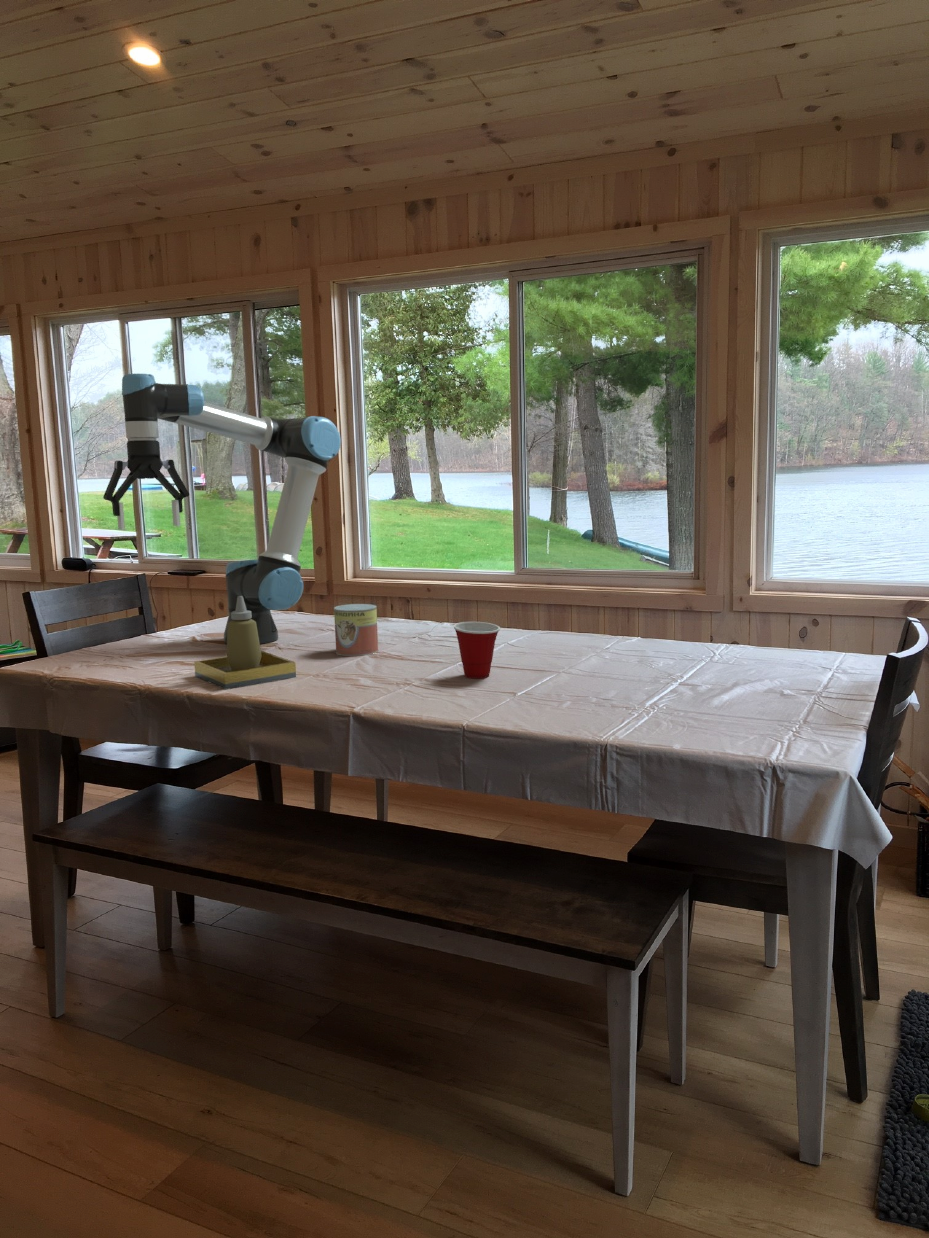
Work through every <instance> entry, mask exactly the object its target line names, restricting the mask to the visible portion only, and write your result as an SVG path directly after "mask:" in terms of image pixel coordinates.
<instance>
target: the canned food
mask: <svg viewBox="0 0 929 1238" xmlns="http://www.w3.org/2000/svg"><path fill="white" fill-rule="evenodd" d="M377 607H378V606H377V605H375V604H371V603H350V604H349V603H348V604H341V605H337V606H333V612H334V614H333V615H334V631H335V632H334V633H335V634H334V635H335V636H334V637H335V654H336V655H339V656H342V657H343V656H344V657H346V656H347V657H360V656H362V657H363V656H369V655H373V653H374V654H376V652H377V653H378V652H379V639H378V637H379V636H378V634H379V633H378V616H377V615H378V613H377V612H378V611H377V610H378V609H377Z"/></svg>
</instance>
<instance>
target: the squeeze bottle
mask: <svg viewBox="0 0 929 1238" xmlns="http://www.w3.org/2000/svg"><path fill="white" fill-rule="evenodd" d="M251 618H252V614H251V611H248V610H247V609H246V606H245V602H244V599H243V596H238V597H237V604H236V610H235V611H233V612H231V619H232V621H230V622H229V623H228V629H227V643H226V657H227V660H228V662H229V665H230V667H231V670H232V672H233V671H239V670H245V669H251V668H258V667H259V663H260V660H261V656H262V655H261V651H262V649H261V644H260V643H259V637H258V631H257V625H256V622H255V621H254V620H252V619H251Z"/></svg>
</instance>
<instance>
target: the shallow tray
mask: <svg viewBox="0 0 929 1238" xmlns="http://www.w3.org/2000/svg"><path fill="white" fill-rule="evenodd" d="M261 655H262V656H261V660H260V663H259V667H258V668H251V669H245V670H239V671H233V672H232V670H231V667H230V665H229V662H228V660H227V656H223V657H222V656H221V657H215V658H209V659H208V658H207V659H202V660H195V661H194V662H193V663H194V665H193V666H194V676H195V677H196V678H199V679H200V680H203V681H205V682H208V683H209V684H212V685H214V686H217V687H219V688H221V689H224V690H230V689H236V688H242V687H248V686H252V685H259V684H264V683H265V684H266V683H269V682H275V681H277V682H278V681H281V680H288V679H292V678H293V679H294V678H297V670H296V669H297V666H296V661H293V660H291V659H287V658H285V657H281V656H278V655H275V654H272V653H269V652H266V651H263V650H261Z"/></svg>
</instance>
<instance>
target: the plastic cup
mask: <svg viewBox="0 0 929 1238" xmlns="http://www.w3.org/2000/svg"><path fill="white" fill-rule="evenodd" d="M453 629H454V632H455V635H456V639H457V643H458V648H459V653H460V654H459V655H460V659H461V663H462V668H463V674H464V676H465V677H466V678H468V679H484V678H488V677H490V674H491V670H492V669H491V668H492V662H493V656H494V650H495V642H496V640H497V636H498V633H499V631H500V630H501V626H499V625H497V624H495V623H490V622H484V621H483V622H482V621H462V622H461V621H460V622H457V623H455V624H453Z"/></svg>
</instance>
